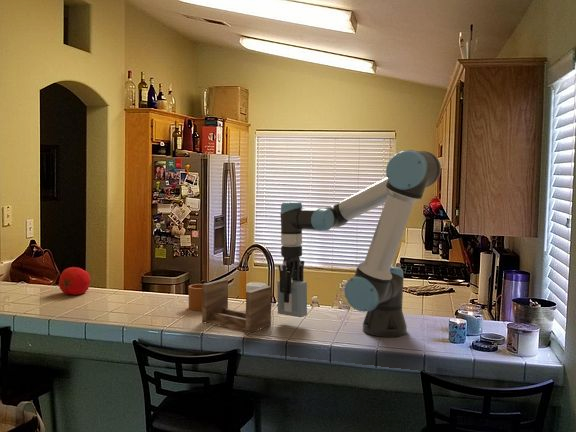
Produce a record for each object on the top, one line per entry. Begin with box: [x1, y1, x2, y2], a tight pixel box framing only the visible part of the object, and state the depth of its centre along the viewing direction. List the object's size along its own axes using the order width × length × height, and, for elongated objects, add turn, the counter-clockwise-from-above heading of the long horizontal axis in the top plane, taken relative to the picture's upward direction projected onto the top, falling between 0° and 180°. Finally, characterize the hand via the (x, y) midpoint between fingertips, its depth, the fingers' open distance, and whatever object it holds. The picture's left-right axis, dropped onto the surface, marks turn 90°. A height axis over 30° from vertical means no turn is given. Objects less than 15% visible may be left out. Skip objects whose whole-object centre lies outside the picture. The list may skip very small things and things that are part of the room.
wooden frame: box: [201, 278, 272, 333], centre depth 211 cm, size 22×12×14 cm, turn 56°
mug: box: [187, 283, 203, 312], centre depth 232 cm, size 9×12×9 cm
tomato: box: [58, 266, 92, 296], centre depth 254 cm, size 13×13×13 cm
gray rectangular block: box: [276, 279, 308, 318], centre depth 211 cm, size 10×4×12 cm, turn 56°
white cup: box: [245, 281, 267, 292], centre depth 232 cm, size 8×8×10 cm
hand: (292, 309), depth 211 cm, fingers closed on gray rectangular block, 4 cm apart
